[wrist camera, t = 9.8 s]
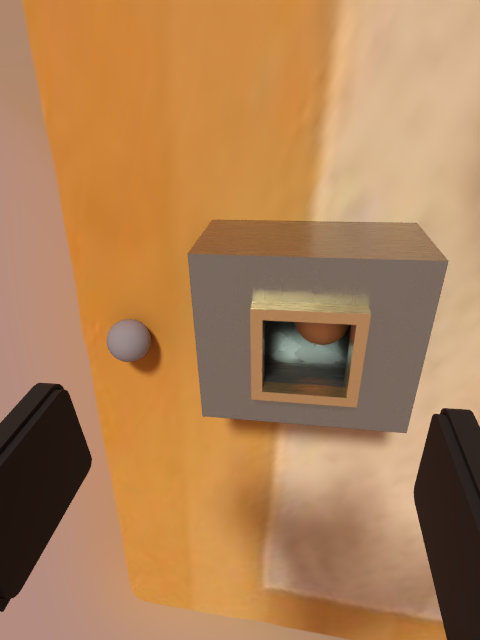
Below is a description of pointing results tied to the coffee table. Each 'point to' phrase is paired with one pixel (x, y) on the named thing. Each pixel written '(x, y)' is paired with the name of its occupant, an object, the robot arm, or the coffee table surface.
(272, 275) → the grey box with opening
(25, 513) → the robot arm
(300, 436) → the coffee table surface
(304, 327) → the bead
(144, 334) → the bead
